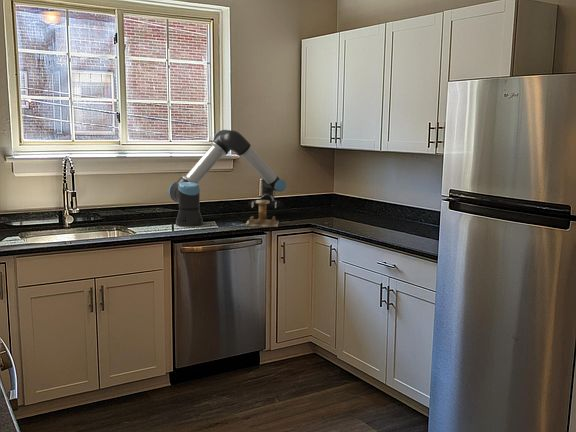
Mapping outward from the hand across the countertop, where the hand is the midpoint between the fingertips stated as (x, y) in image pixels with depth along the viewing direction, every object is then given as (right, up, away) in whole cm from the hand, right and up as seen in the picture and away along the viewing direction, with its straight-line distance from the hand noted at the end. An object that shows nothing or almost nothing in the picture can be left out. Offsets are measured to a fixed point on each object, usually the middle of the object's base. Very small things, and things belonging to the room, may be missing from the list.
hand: (263, 205), depth 347 cm
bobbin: (0, -10, -7) cm, 12 cm away
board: (0, -11, -7) cm, 13 cm away
